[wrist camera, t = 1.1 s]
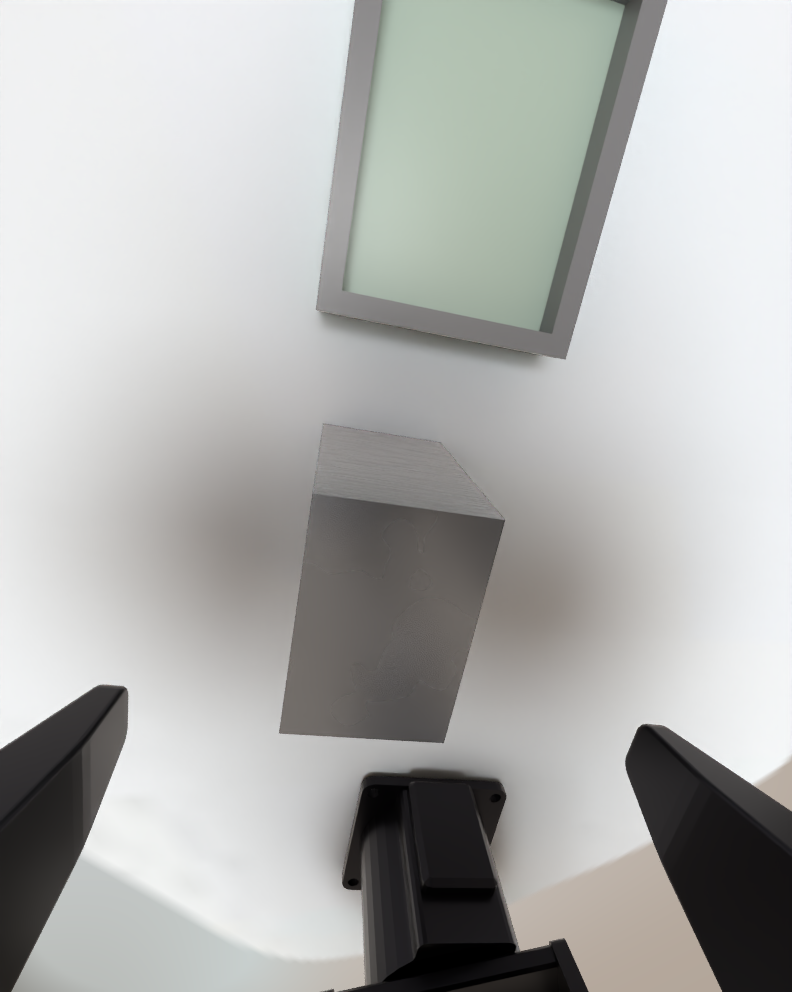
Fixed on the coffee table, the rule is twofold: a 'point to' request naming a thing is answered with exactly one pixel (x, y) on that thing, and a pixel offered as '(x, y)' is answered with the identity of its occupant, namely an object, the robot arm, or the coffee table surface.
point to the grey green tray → (480, 162)
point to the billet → (387, 589)
